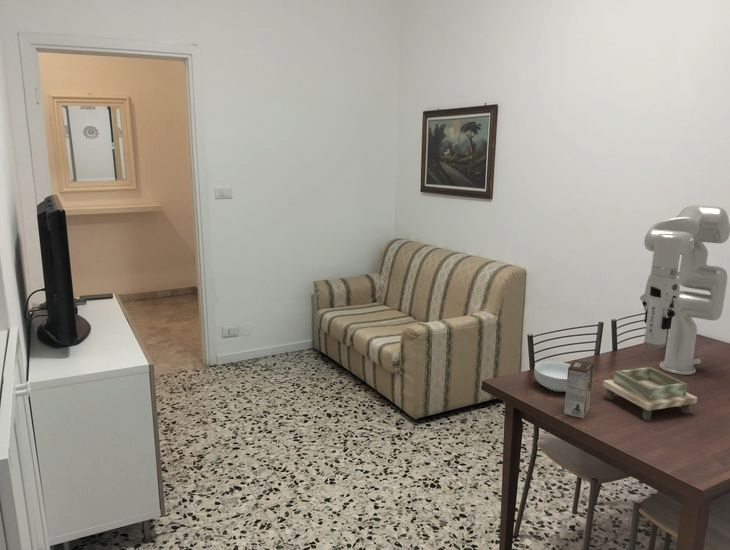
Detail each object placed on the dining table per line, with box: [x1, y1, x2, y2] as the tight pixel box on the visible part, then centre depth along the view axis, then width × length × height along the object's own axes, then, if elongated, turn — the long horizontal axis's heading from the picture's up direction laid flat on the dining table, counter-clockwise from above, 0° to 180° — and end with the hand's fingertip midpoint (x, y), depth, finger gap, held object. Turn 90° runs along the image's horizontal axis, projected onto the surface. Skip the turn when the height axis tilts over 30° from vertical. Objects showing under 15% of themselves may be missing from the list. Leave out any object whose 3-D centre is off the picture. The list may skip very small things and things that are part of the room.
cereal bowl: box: [533, 360, 571, 393], centre depth 200 cm, size 17×17×7 cm
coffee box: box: [563, 359, 595, 419], centre depth 181 cm, size 9×6×16 cm
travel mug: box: [643, 286, 670, 349], centre depth 181 cm, size 6×7×20 cm
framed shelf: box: [602, 366, 698, 422], centre depth 187 cm, size 20×20×10 cm
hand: (657, 325), depth 182 cm, fingers closed on travel mug, 6 cm apart
